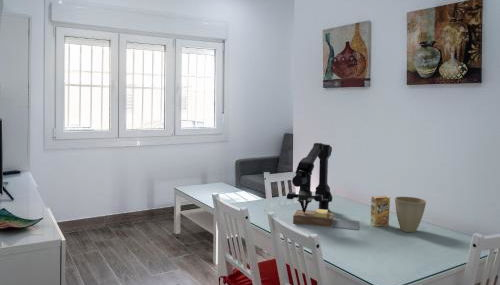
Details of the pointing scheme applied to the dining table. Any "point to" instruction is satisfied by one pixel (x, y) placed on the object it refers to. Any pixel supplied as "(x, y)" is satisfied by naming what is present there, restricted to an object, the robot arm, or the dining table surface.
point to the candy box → (380, 211)
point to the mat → (346, 224)
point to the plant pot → (409, 212)
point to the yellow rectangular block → (321, 213)
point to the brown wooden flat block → (312, 218)
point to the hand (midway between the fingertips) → (304, 212)
